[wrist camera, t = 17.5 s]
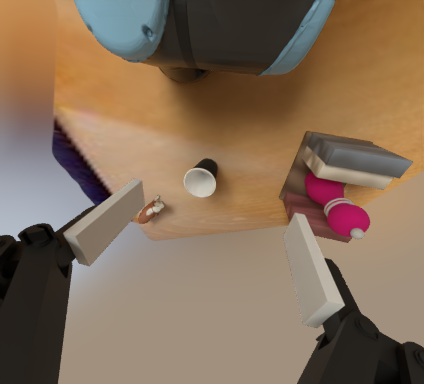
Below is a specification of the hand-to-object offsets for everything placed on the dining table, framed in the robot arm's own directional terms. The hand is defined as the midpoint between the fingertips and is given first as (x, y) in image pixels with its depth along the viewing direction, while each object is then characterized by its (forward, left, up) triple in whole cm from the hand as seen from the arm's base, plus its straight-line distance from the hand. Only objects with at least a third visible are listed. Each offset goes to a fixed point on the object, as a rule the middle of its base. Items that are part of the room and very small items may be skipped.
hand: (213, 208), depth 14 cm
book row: (+7, +23, -33) cm, 41 cm away
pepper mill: (+8, +23, -32) cm, 40 cm away
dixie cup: (+11, -6, -33) cm, 35 cm away
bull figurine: (+29, -23, -33) cm, 50 cm away
